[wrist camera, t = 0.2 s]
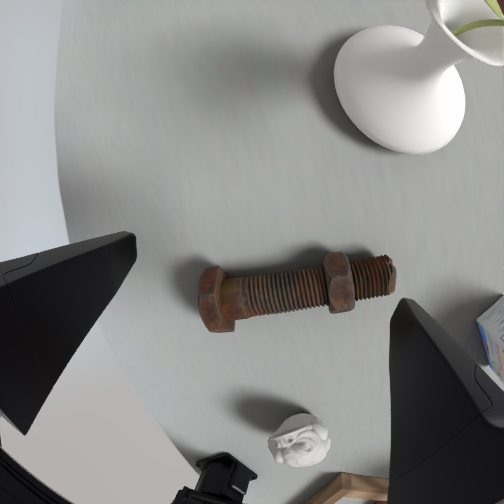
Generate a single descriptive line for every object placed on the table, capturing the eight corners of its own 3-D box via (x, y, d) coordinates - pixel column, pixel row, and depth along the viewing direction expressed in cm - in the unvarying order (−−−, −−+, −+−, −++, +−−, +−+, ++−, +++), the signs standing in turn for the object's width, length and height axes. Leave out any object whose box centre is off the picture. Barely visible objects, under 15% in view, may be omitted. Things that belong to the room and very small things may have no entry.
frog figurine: (309, 387, 27) (307, 437, 21) (341, 425, 28) (343, 472, 21) (261, 408, 29) (248, 456, 22) (294, 443, 30) (289, 488, 23)
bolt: (380, 269, 25) (221, 294, 28) (383, 226, 22) (203, 256, 25) (398, 321, 21) (215, 347, 24) (407, 279, 18) (191, 312, 21)
